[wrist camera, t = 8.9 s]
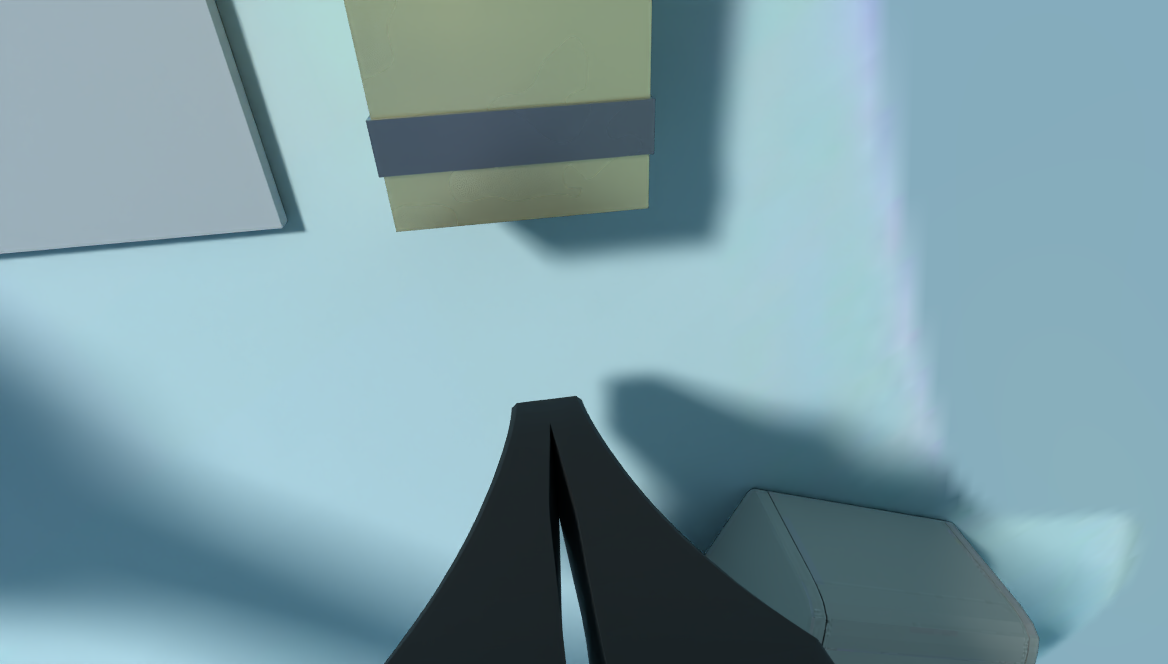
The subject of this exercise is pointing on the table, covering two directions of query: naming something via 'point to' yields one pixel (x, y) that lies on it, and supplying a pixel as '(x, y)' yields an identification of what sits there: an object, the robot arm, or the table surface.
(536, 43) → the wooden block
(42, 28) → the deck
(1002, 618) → the digital clock
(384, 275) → the table surface
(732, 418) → the table surface
